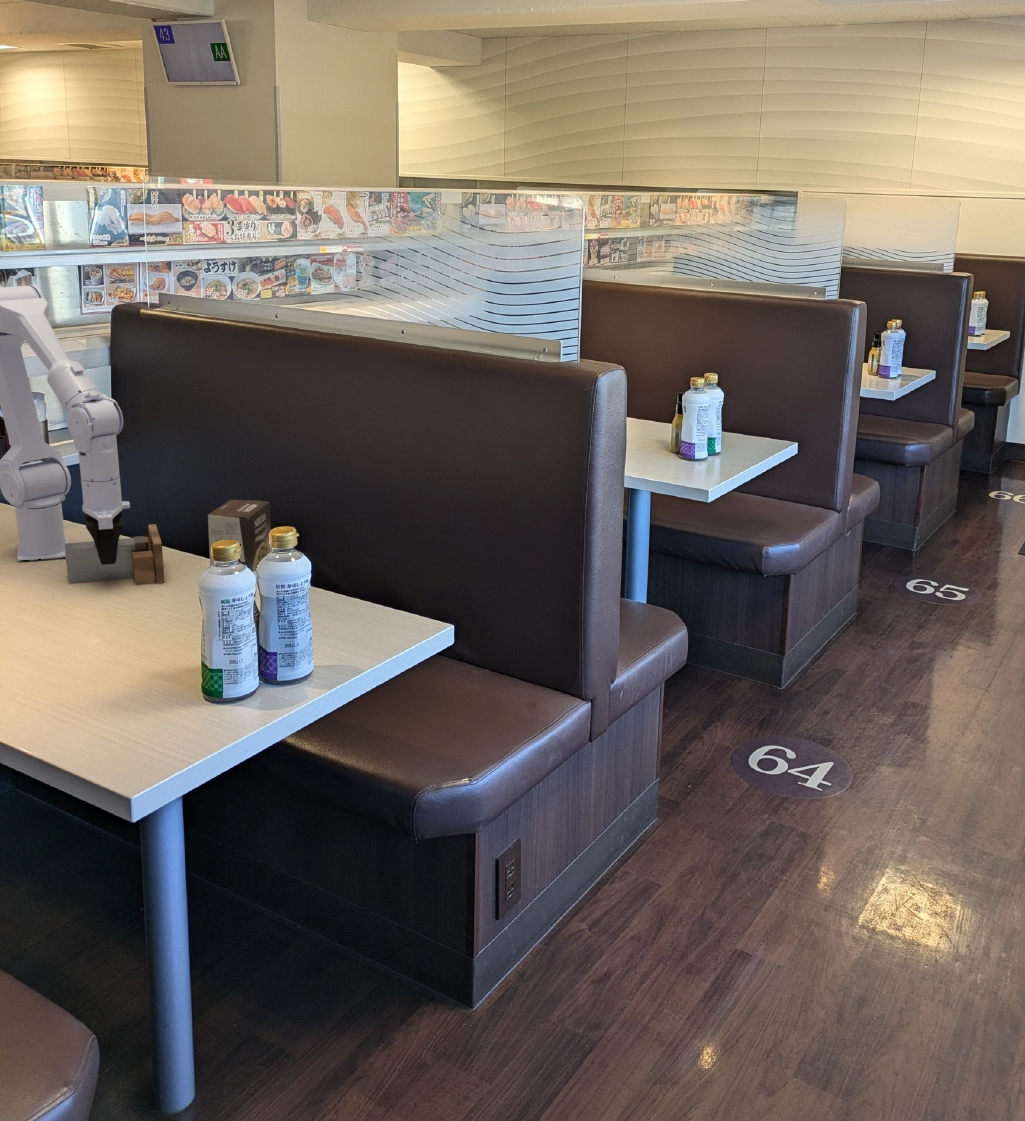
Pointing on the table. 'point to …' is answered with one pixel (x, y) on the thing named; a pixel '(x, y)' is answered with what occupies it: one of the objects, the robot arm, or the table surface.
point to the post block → (149, 560)
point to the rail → (89, 568)
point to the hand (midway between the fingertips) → (107, 559)
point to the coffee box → (242, 528)
